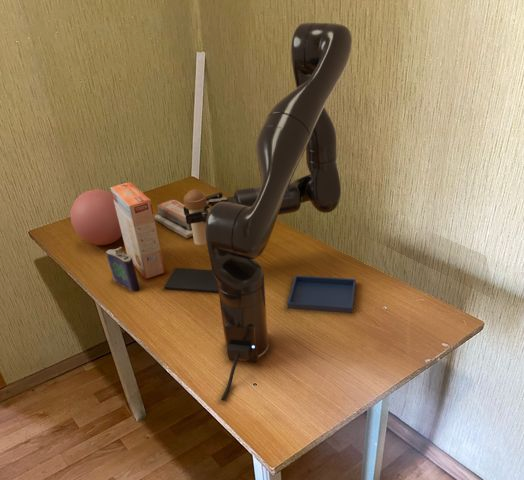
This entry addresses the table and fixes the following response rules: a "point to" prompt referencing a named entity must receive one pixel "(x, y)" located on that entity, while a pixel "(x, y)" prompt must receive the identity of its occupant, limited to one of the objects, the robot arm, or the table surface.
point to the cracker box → (138, 229)
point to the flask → (122, 269)
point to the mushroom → (196, 204)
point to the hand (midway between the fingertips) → (185, 215)
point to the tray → (322, 294)
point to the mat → (192, 280)
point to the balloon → (96, 217)
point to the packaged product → (174, 218)
